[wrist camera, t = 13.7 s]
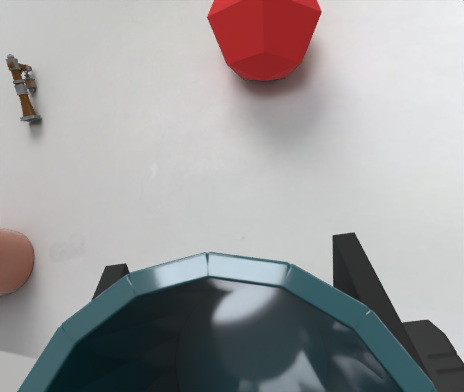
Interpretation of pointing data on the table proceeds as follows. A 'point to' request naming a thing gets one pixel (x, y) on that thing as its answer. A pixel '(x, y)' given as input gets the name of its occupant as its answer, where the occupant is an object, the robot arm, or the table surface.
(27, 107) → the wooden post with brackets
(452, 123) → the table surface
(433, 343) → the robot arm
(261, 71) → the apple
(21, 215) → the table surface
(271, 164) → the table surface
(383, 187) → the table surface
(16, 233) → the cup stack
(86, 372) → the cup
